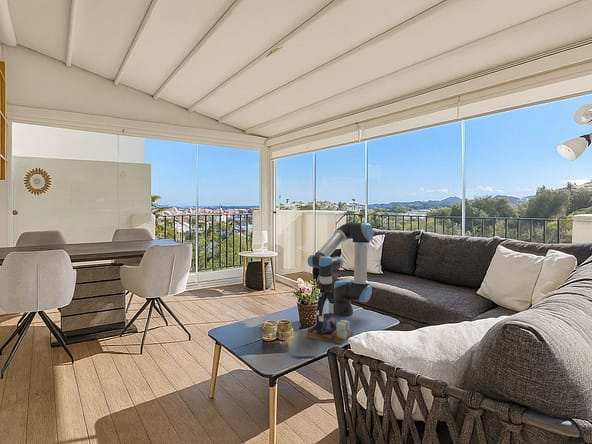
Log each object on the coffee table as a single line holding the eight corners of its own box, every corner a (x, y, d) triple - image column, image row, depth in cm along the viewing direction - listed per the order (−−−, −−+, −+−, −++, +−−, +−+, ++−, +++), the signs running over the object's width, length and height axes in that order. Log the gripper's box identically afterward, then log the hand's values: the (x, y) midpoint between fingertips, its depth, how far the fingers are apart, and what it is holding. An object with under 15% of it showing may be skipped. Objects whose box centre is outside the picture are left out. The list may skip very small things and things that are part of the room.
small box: (320, 335, 210) (320, 317, 209) (315, 331, 216) (315, 314, 215) (336, 332, 213) (336, 315, 213) (331, 329, 220) (331, 312, 219)
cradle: (320, 327, 227) (320, 312, 226) (353, 334, 215) (353, 318, 215) (306, 337, 211) (306, 321, 211) (341, 344, 200) (341, 327, 199)
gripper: (329, 277, 225) (329, 310, 227) (310, 286, 204) (311, 323, 206) (340, 278, 222) (340, 312, 223) (322, 288, 200) (322, 325, 202)
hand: (326, 317), depth 214 cm, fingers open, 13 cm apart
